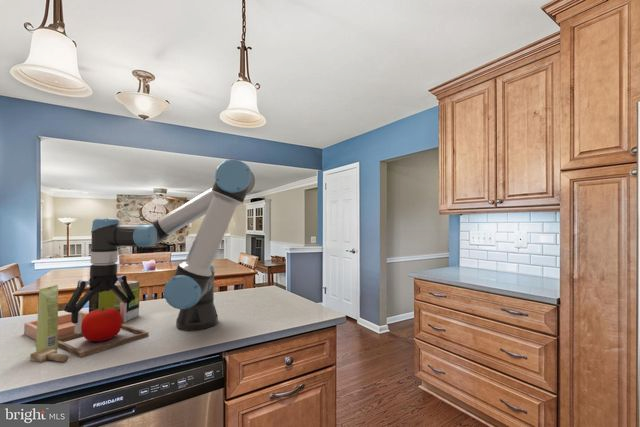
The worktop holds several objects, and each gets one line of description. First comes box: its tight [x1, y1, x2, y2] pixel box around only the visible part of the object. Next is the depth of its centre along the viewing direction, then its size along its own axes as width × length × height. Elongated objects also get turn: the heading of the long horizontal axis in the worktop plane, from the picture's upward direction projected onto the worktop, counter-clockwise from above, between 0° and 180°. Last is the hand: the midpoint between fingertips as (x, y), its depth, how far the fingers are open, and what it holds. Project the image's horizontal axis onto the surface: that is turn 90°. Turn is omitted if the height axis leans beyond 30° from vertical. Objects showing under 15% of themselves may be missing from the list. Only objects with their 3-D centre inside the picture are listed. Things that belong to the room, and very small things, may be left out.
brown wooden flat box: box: [23, 310, 89, 341], centre depth 110 cm, size 18×17×4 cm
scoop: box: [29, 348, 69, 363], centre depth 88 cm, size 10×4×2 cm, turn 75°
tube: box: [35, 284, 59, 352], centre depth 94 cm, size 6×5×20 cm
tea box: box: [88, 280, 140, 322], centre depth 126 cm, size 15×10×15 cm, turn 84°
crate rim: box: [57, 323, 149, 358], centre depth 103 cm, size 20×20×1 cm
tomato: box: [81, 307, 123, 342], centre depth 103 cm, size 11×12×10 cm
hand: (101, 326), depth 103 cm, fingers open, 13 cm apart
